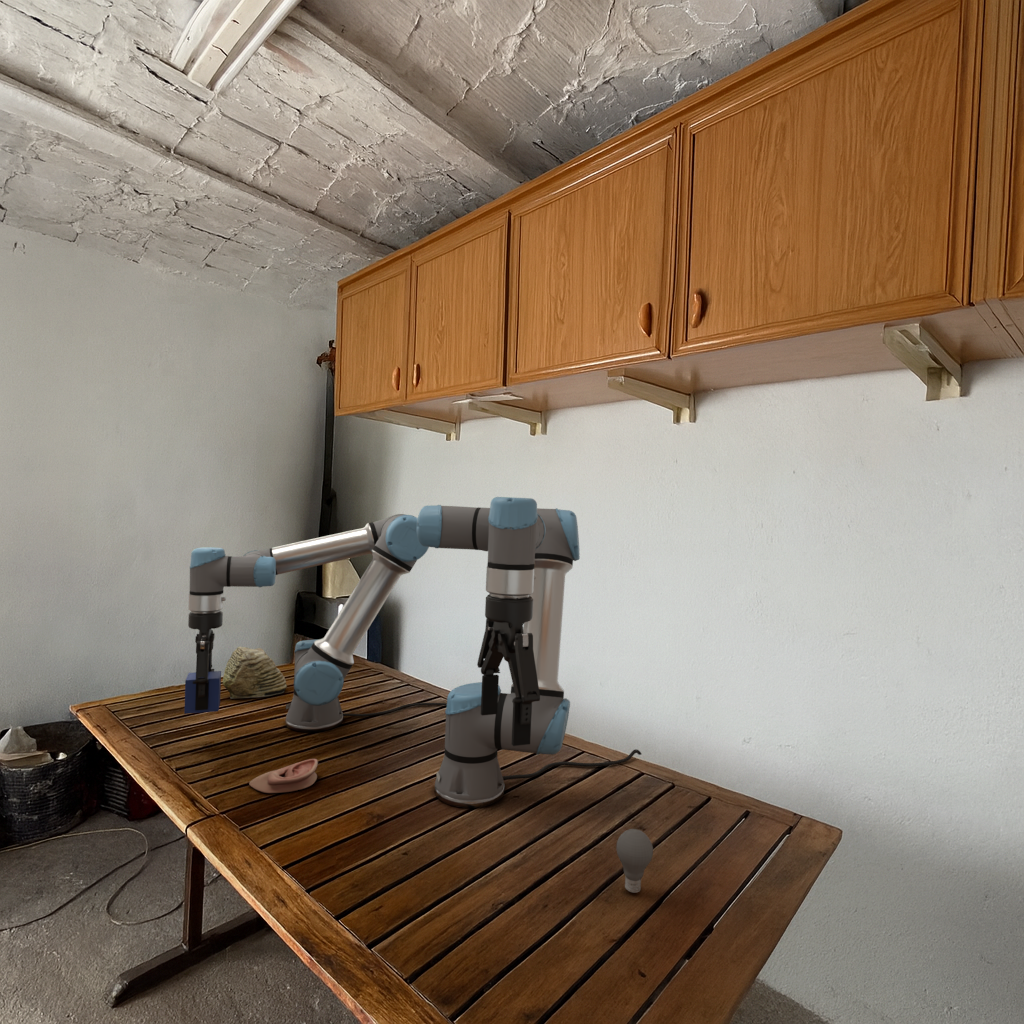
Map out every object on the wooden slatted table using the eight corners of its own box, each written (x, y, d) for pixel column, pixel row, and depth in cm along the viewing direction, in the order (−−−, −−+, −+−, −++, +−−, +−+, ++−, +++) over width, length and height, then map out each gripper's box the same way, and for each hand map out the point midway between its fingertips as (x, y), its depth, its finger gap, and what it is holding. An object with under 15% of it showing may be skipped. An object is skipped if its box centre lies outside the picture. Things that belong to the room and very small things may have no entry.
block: (184, 713, 151) (185, 680, 150) (187, 705, 157) (188, 672, 157) (218, 711, 153) (219, 678, 153) (220, 702, 159) (221, 670, 159)
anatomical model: (241, 770, 135) (272, 750, 146) (240, 789, 135) (271, 767, 146) (297, 779, 132) (324, 757, 144) (297, 798, 132) (324, 775, 144)
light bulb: (610, 879, 108) (613, 822, 108) (644, 879, 109) (647, 822, 109) (619, 902, 102) (622, 840, 102) (655, 901, 103) (658, 840, 103)
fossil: (218, 695, 195) (220, 647, 195) (278, 685, 208) (279, 640, 207) (228, 703, 189) (230, 653, 188) (289, 692, 201) (290, 645, 201)
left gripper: (220, 618, 147) (216, 716, 147) (225, 603, 165) (222, 691, 165) (183, 619, 144) (180, 719, 145) (193, 604, 162) (190, 693, 163)
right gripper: (567, 607, 90) (560, 756, 90) (502, 583, 113) (497, 701, 113) (518, 609, 87) (512, 762, 87) (462, 584, 110) (457, 705, 110)
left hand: (203, 704), depth 155 cm, fingers closed on block, 7 cm apart
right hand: (503, 728), depth 100 cm, fingers open, 13 cm apart
